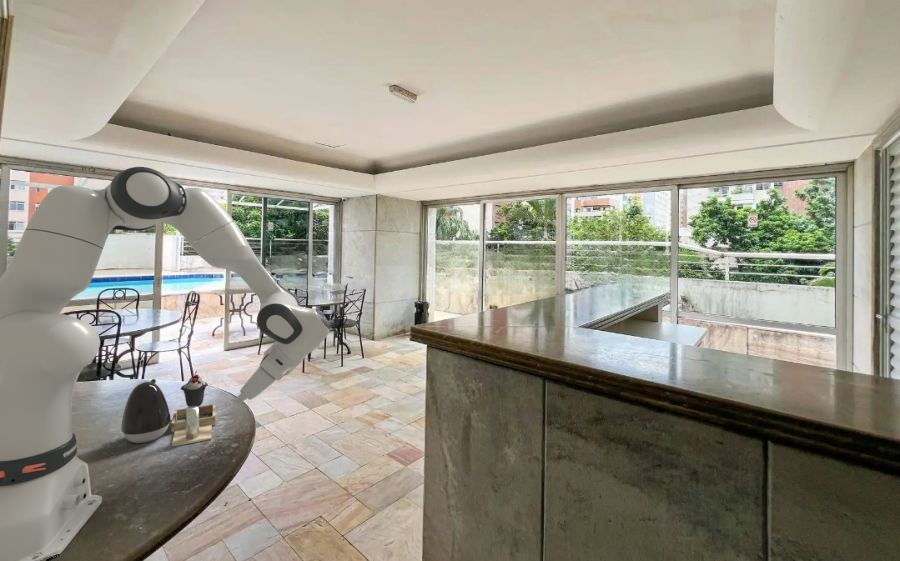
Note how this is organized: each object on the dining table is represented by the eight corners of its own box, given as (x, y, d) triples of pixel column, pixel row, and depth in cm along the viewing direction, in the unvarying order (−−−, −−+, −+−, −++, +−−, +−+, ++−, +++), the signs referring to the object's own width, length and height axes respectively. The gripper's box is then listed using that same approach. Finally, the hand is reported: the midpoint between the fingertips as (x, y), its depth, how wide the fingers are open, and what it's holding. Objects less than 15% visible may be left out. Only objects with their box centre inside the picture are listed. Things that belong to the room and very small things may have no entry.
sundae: (196, 425, 110) (194, 374, 109) (175, 422, 111) (174, 372, 110) (213, 415, 116) (213, 367, 115) (194, 413, 118) (193, 365, 116)
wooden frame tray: (215, 438, 103) (214, 407, 102) (167, 447, 98) (167, 415, 97) (215, 411, 119) (214, 385, 118) (174, 418, 114) (174, 390, 113)
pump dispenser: (177, 427, 109) (175, 374, 107) (162, 445, 99) (160, 387, 97) (133, 431, 105) (131, 377, 104) (113, 450, 96) (111, 390, 94)
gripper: (281, 341, 114) (246, 375, 113) (261, 361, 94) (218, 402, 93) (297, 356, 116) (262, 389, 115) (281, 378, 96) (239, 419, 95)
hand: (242, 395), depth 104 cm, fingers open, 8 cm apart
